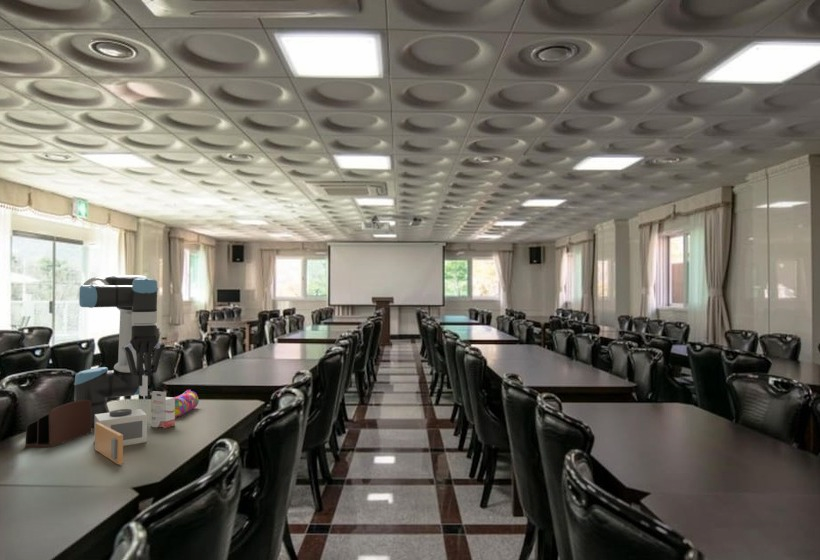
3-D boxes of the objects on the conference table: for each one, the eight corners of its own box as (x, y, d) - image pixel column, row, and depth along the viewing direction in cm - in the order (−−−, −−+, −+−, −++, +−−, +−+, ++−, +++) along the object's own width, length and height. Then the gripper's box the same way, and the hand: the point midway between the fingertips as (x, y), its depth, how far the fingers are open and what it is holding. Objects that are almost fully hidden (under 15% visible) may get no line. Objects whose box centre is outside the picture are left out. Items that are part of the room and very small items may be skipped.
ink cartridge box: (175, 425, 205) (175, 390, 205) (165, 428, 200) (166, 392, 201) (160, 424, 208) (160, 388, 209) (150, 426, 203) (150, 391, 204)
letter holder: (91, 433, 195) (92, 397, 196) (50, 448, 175) (51, 408, 176) (68, 432, 196) (69, 396, 197) (24, 447, 176) (25, 407, 177)
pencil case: (179, 408, 239) (179, 389, 239) (199, 407, 240) (199, 389, 240) (163, 419, 217) (163, 398, 218) (185, 418, 219) (185, 397, 219)
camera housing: (94, 441, 182) (94, 411, 183) (139, 434, 192) (140, 405, 192) (98, 449, 172) (99, 417, 172) (146, 441, 181) (147, 411, 182)
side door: (98, 448, 172) (98, 422, 173) (122, 463, 156) (123, 434, 156) (91, 449, 171) (91, 423, 171) (115, 465, 154) (116, 436, 154)
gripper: (159, 323, 173) (158, 391, 172) (119, 325, 163) (117, 396, 162) (169, 324, 168) (168, 393, 167) (127, 325, 158) (126, 399, 157)
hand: (143, 395), depth 165 cm, fingers closed
